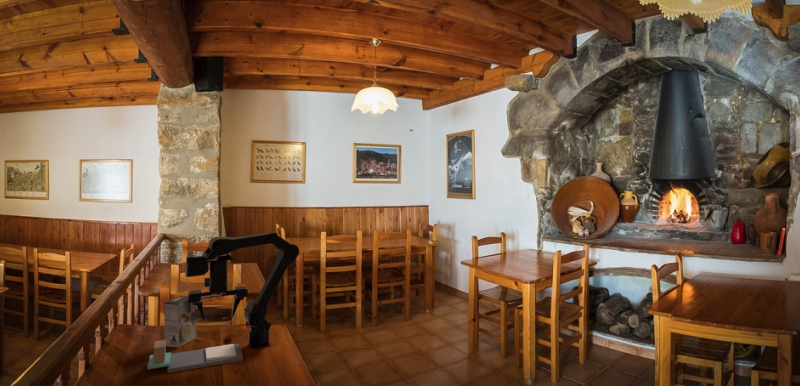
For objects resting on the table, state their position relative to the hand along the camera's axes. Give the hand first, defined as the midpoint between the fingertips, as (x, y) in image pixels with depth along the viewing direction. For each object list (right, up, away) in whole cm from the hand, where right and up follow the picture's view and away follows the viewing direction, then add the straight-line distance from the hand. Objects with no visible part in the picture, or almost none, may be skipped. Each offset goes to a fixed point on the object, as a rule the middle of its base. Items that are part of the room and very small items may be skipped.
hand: (218, 318), depth 146 cm
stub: (-14, -11, -11) cm, 21 cm away
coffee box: (-18, -12, +9) cm, 23 cm away
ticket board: (-2, -12, -5) cm, 13 cm away
